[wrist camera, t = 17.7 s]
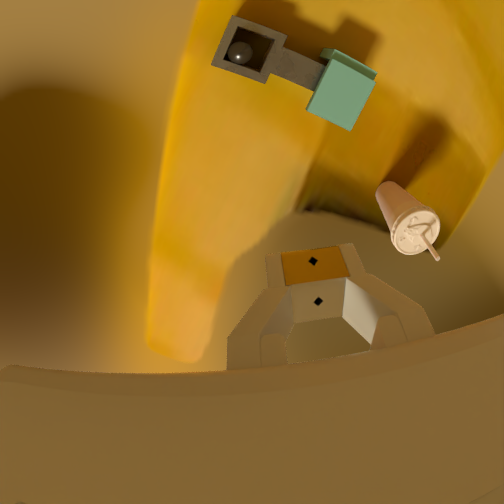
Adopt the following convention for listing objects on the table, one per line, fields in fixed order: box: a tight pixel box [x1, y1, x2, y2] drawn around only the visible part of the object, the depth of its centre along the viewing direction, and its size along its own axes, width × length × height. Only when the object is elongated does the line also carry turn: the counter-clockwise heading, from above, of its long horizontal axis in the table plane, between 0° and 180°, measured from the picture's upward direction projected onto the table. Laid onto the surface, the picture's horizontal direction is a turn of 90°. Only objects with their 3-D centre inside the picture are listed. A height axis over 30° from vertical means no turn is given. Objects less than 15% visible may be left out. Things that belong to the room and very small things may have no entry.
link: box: [211, 15, 326, 91], centre depth 27 cm, size 15×6×4 cm, turn 68°
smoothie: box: [376, 181, 440, 261], centre depth 34 cm, size 6×6×14 cm
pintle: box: [228, 42, 253, 64], centre depth 26 cm, size 2×2×6 cm
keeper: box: [306, 48, 377, 131], centre depth 28 cm, size 5×7×5 cm
